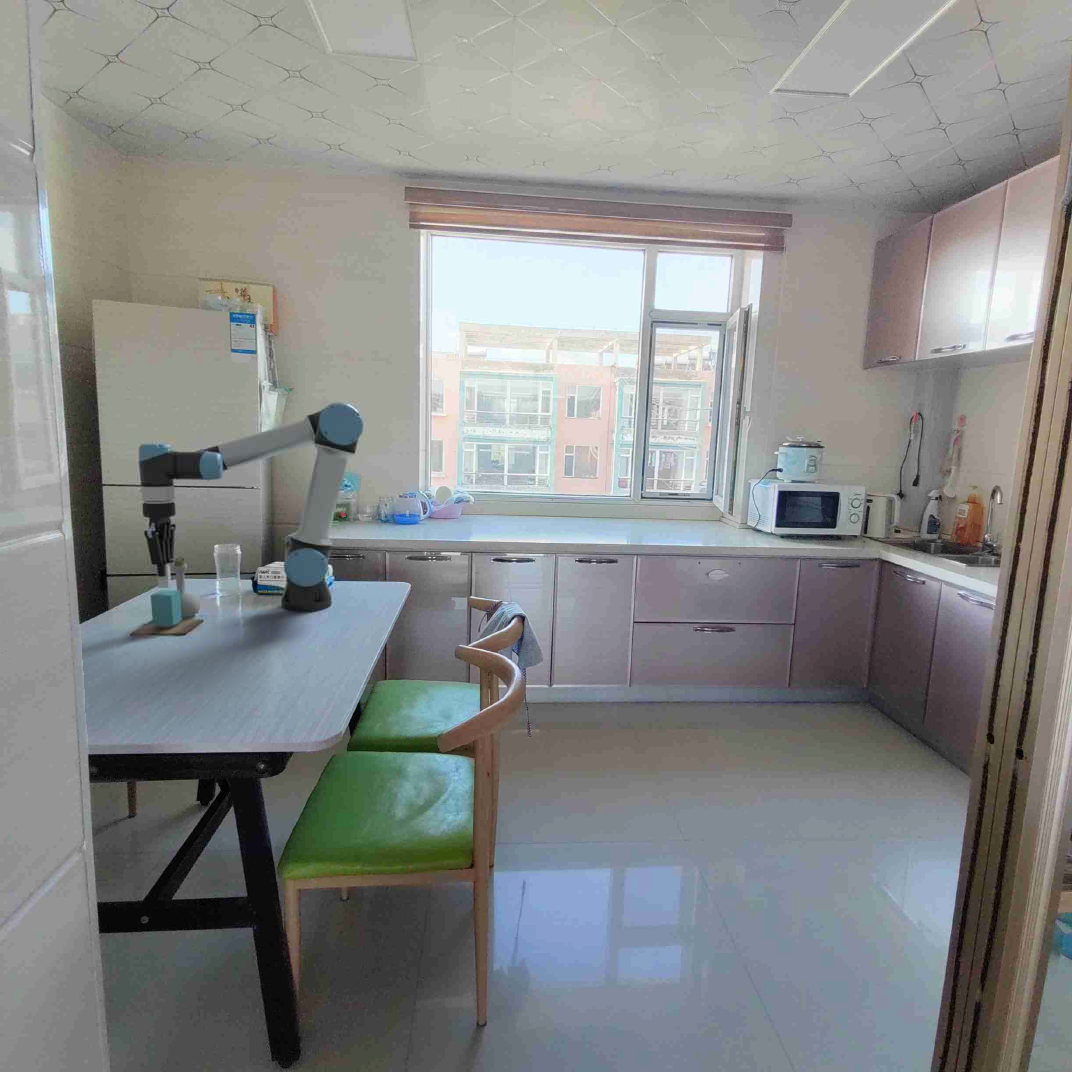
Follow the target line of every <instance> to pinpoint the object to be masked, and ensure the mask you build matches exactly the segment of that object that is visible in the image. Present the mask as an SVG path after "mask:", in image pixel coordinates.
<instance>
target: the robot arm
mask: <svg viewBox="0 0 1072 1072" xmlns="http://www.w3.org/2000/svg"><path fill="white" fill-rule="evenodd" d="M363 421H364V420H363V417H362V415H361V414H360V412H359V411H358V410H357V408H355V406H353V405H351V404H348V403H345V402H339V401H338V402H333V403H330V404H328V405H327V406H325V407H324V408H323V409H321V410H319V411H316V412H314V413H311V414H307V415H306V416H305V417H304V419H303V420H299V421H295V422H292V423H289V424H286V425H282V426H278V427H276V428H272V429H269V430H268V429H267V430H265V431H262V432H258V433H256V434H251V435H248V436H244V437H241V438H238V439H234V440H231V441H228V442H223V443H221V444H217V445H215V446H211V447H208V448H202V449H199V450H196V451H173V449H172V445H170V444H168V443H142V444H139V446H138V467H139V478H140V479H139V480H140V486H141V487H140V489H139V491H140V493H141V500H142V501H143V502H142V516H143V517H144V518H148V520H149V522H148V530H144V531H143V535H144V536H145V538H146V543H147V547H148V552H149V557H150V561H151V564H152V565H153V566H155V565H156V575H157V576H156V577H157V588H158V589H162V588H163V589H165V588H167V589H168V588H171V587H172V581H171V580H172V579H171V566H170V565H171V564H174V563H175V562H174V560H175V559H174V553H175V552H174V551H175V534H176V533H175V531H176V527H177V525H176V524H175V523H171V522H172V519H171V517H174V516H176V503H175V502H174V501H175V500H176V497H175V486H174V483H175V482H174V481H175V480H186V481H187V480H189V481H190V480H192V481H193V480H194V481H195V480H199V481H201V480H202V481H212V480H217V481H218V480H220V479H222V478H223V475H224V472H226V471H228V470H231V469H234V468H238V467H242V466H244V465H248V464H252V463H254V462H257V461H258V462H259V461H261V460H265V459H268V458H272V457H275V456H278V455H281V454H285V453H288V452H291V451H294V450H298V449H300V448H304V447H307V446H311V445H314V447H315V448H316V451H317V452H316V455H315V456H316V457H315V461H314V464H313V470H312V474H311V477H310V481H309V485H308V489H307V493H306V498H305V501H304V505H303V510H302V514H301V518H300V523H299V526H298V529H297V531H296V532H294V533H292V534H289V535H286V536H285V538H284V543H283V544H284V545H283V546H284V564H283V571H284V574H285V579H286V580H285V581H286V583H285V587H284V590H283V594H282V596H281V600H280V601H281V602H280V603H281V608H282V609H283V610H285V611H289V612H299V613H301V612H315V611H320V610H324V609H326V608H329V607H330V606H332V604H333V599H332V593H331V592H330V588H329V587H328V584H327V581H326V576H327V574H328V572H329V560H330V554H331V550H332V548H333V541H332V540H331V539H330V533H331V528H332V525H333V521H334V517H335V513H336V508H337V504H338V500H339V496H340V493H341V488H342V485H343V480H344V477H345V476H344V475H345V472H346V468H347V464H348V460H349V459H350V458H351V457H354V455H355V453H356V450H357V446H358V443H359V439H360V437H361V435H362V433H363V431H364V422H363Z"/></svg>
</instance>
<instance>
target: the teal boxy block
mask: <svg viewBox="0 0 1072 1072" xmlns="http://www.w3.org/2000/svg"><path fill="white" fill-rule="evenodd" d="M150 604H151V605H150V606H151V616H152V620H153V626H174V625H175V624H177V623H178V622H179V621H181V620H182V616H181V602H180V590H177V589H176V590H175V589H173V590H172V589H171V590H170V589H169V590H168V589H167V590H165V589H164V590H158V591H156V592H154V593H153V594H151V595H150Z"/></svg>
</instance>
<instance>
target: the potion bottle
mask: <svg viewBox="0 0 1072 1072" xmlns="http://www.w3.org/2000/svg"><path fill="white" fill-rule="evenodd" d="M173 560H174V562H173V564H172V565H171V567H172V571H173V572H174V573H175V582H176V590H180V602H181V616H182V620H195V618H197V614H198V613H199V612H200V607H201V605H200V602H199V599H198V598H197V596H196V595H195V594H194V593H193V592H190V591H189V592H188V591H186V577H185V572H186V571H187V568H188V564H187V563H185V557H184V556H178V557H176V558H174V559H173Z"/></svg>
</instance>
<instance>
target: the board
mask: <svg viewBox="0 0 1072 1072" xmlns="http://www.w3.org/2000/svg"><path fill="white" fill-rule="evenodd" d="M204 622H205V620H204V619H199V618H198V619H191V620H181V621H179V622H178V623H177V624H175V625H174V626H173V627H171V628H161V626H153V619H151V620H149V621H147V622H146V623H145V624H143V625H141V626H139V627H138V628H137V629H135V630H133V631H132V632H130V633H129V636H130V637H132V636H133V637H136V636H137V637H138V636H139V637H142V636H145V637H146V636H147V637H151V636H154V637H155V636H159V637H160V636H187V635H188V634H190V633H191V632H192V631H193V630H194V629H196V628H197V627H199V626H200V625H201V624H202V623H204Z"/></svg>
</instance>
